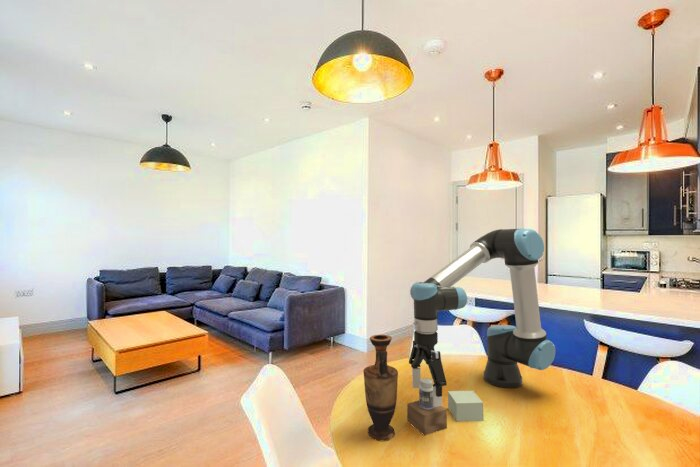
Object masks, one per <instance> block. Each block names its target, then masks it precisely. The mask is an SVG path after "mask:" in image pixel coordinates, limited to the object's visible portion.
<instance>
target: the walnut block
mask: <svg viewBox="0 0 700 467" xmlns="http://www.w3.org/2000/svg"><path fill="white" fill-rule="evenodd" d="M447 410H448V409H447V408H445V407H444V406H443V405H442V406H437V407H434V408H433V409H430V410H426V409H423V408H421V407H420V405H419V400H415V401H412V402H408V403H406V414H407V416H406V418H407V420H406V421H408V422H409V423H408V422H407V423H408V424H409V425H411V424H412V425H413V426H414V427H413V426H412V425H411V426H412V427H413V428H415V429H416V430H417V429H418V430H419V431H418V430H417V431H418V432H419V433H421V434H422V433H423V434H424V436H427V434H428V435H431V434H434V433H436V431H437V432H439V431H443V430H445V429H447V428H448V412H447ZM433 432H434V433H433ZM430 433H431V434H430ZM423 434H422V435H423Z"/></svg>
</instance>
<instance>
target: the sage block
mask: <svg viewBox="0 0 700 467" xmlns="http://www.w3.org/2000/svg"><path fill="white" fill-rule="evenodd" d="M447 408H448V409H447V410H449V412H450V414H451V415H452V417H453V418H454V420H455V419H456V420H455V421H456V422H483V421H484V402H483V401H482V399H481V398H480V397H479V396H478V394H476V393H475V391H474V390H450V391H449V390H448V391H447Z"/></svg>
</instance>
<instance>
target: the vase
mask: <svg viewBox="0 0 700 467" xmlns="http://www.w3.org/2000/svg"><path fill="white" fill-rule="evenodd" d="M392 338H393V337H392V336H390V335H388V334H375V335H371V336H370V337H369V341H370V343H371V344H372V346H373V347H374V349H375V362H374V364H372V365H368V366H366V367H364V369H363V382H364V383H363V384H364V394H365V402H366V408H367V411H368V414H369V417H370V419H371V422H372V424H371V425H370V426H369V427H368V429H367V434H368V437H370V438H371V439H373V440H375V439H376V441H379V440H387V439H389V440H390V439H392V438H391V437H393V438H394V437H395V434H396V433H395V428H394V427H393V426H392V425H390V423H391V421H392V420H393V417H394V415H395V412H396V408H397V407H396V406H397V398H398V380H399V379H398V377H399V372H398V369H397V368H396V367H393V366H390V365H388V351H387V348H388V346H390V343H391V341H392ZM387 441H388V440H387Z"/></svg>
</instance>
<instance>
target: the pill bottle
mask: <svg viewBox="0 0 700 467" xmlns="http://www.w3.org/2000/svg"><path fill="white" fill-rule="evenodd" d="M433 384H434V381H433V379H430V378H424V377H423V378H421V380H420V387H419V388H418V390H419V392H418V393H419V396H418V397H419V405H420V407H421V408H423V409H426V410H430V409H433V408H434V406H433Z"/></svg>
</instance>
